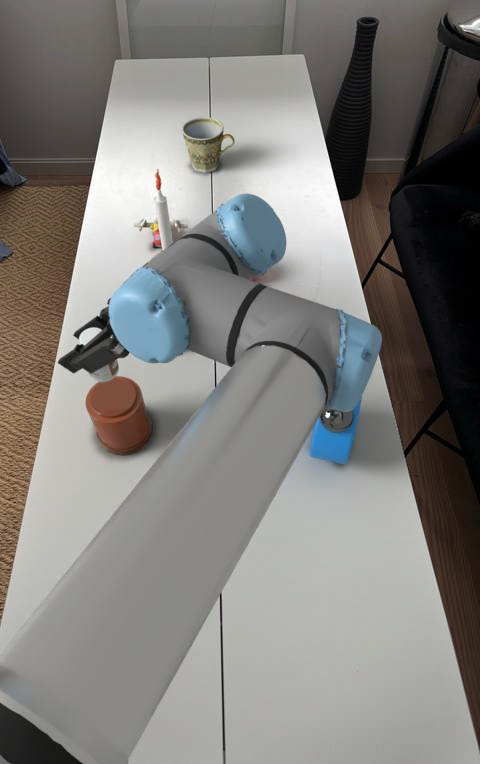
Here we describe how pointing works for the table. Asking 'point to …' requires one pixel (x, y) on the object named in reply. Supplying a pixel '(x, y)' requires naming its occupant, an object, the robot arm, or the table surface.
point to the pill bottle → (106, 371)
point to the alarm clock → (334, 434)
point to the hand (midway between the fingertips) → (74, 352)
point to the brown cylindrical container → (119, 415)
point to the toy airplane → (155, 226)
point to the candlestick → (162, 215)
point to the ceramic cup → (204, 142)
